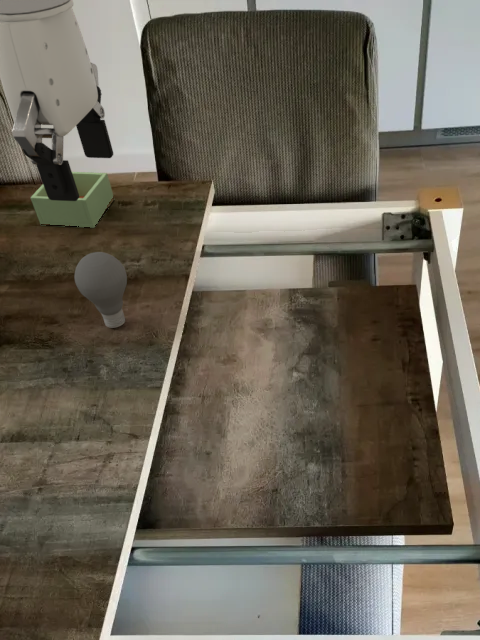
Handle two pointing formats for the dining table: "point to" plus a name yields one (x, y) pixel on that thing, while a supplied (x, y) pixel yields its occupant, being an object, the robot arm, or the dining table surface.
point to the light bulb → (103, 285)
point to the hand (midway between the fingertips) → (83, 177)
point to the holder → (76, 202)
